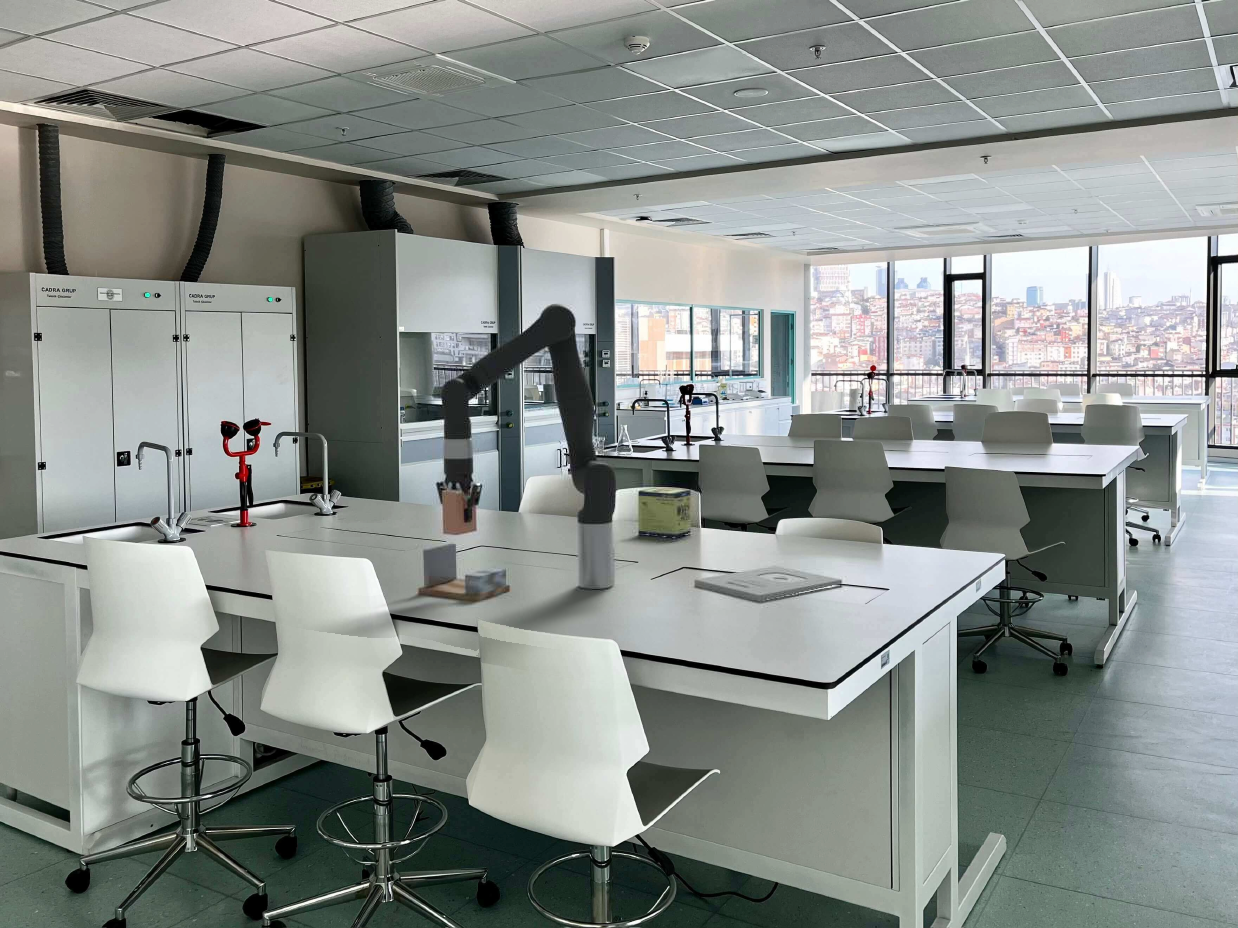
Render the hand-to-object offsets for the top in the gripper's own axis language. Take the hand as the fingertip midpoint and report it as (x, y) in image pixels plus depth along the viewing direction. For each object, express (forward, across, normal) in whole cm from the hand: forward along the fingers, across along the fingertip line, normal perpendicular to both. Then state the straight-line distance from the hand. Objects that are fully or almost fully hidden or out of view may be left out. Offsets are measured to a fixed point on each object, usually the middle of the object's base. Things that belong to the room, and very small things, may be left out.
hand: (459, 521), depth 270 cm
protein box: (+19, -2, -106) cm, 108 cm away
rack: (+19, -1, 0) cm, 19 cm away
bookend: (+17, +7, 0) cm, 18 cm away
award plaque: (+19, -67, -45) cm, 83 cm away
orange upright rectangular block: (+3, 0, 0) cm, 3 cm away
